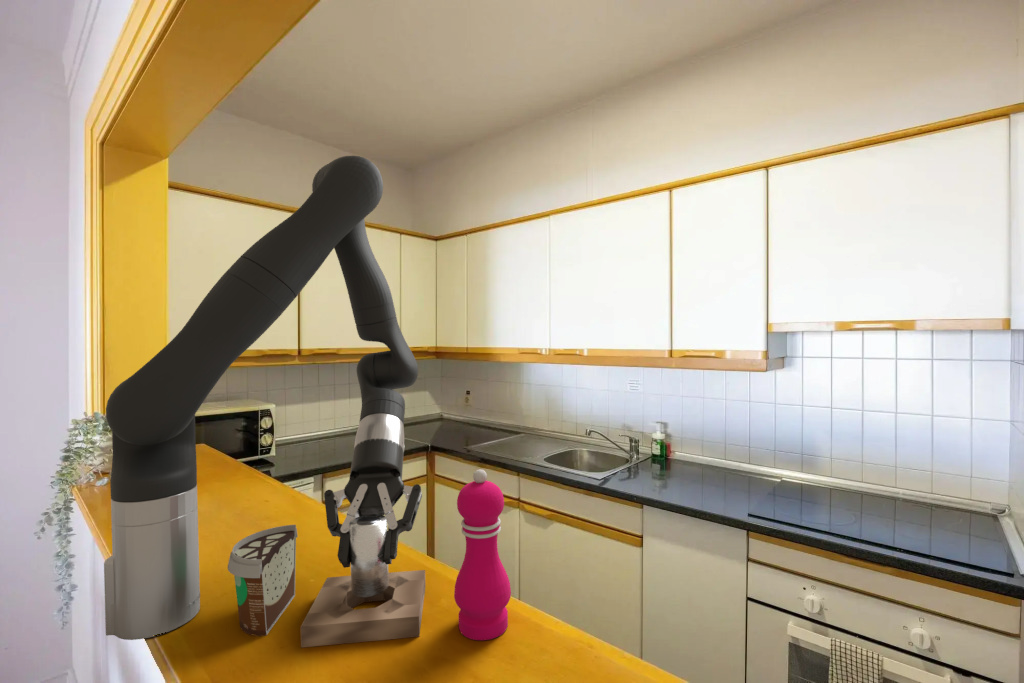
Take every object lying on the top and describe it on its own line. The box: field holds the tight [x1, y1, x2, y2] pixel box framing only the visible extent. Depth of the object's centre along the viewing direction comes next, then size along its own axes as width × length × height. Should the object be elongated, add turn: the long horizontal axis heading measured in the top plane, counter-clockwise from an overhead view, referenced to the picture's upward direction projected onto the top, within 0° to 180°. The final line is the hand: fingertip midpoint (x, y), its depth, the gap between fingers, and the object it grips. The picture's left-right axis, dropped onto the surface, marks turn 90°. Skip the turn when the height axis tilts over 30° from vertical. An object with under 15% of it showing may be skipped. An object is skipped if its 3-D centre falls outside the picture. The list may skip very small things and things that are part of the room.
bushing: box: [349, 514, 389, 597], centre depth 64 cm, size 5×5×9 cm
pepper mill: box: [453, 469, 512, 641], centre depth 61 cm, size 7×7×20 cm
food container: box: [227, 524, 298, 637], centre depth 64 cm, size 12×6×10 cm, turn 4°
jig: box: [300, 569, 426, 648], centre depth 64 cm, size 14×12×2 cm
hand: (367, 563), depth 62 cm, fingers closed on bushing, 4 cm apart
